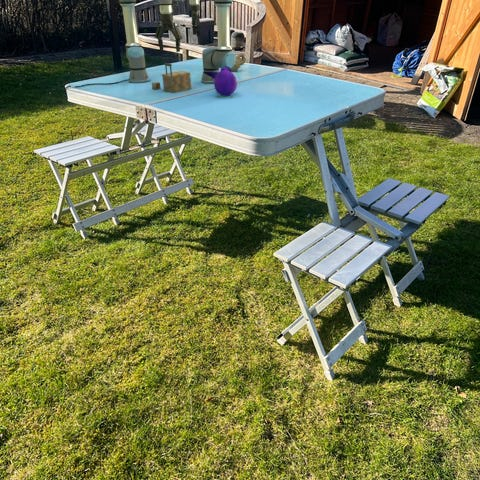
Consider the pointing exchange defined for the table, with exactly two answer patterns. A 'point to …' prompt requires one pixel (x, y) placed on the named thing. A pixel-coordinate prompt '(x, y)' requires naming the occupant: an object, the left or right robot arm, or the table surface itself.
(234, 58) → the right robot arm
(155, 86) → the block
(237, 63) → the teapot
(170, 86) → the chest
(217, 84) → the toy
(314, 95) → the table surface
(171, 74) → the lid
